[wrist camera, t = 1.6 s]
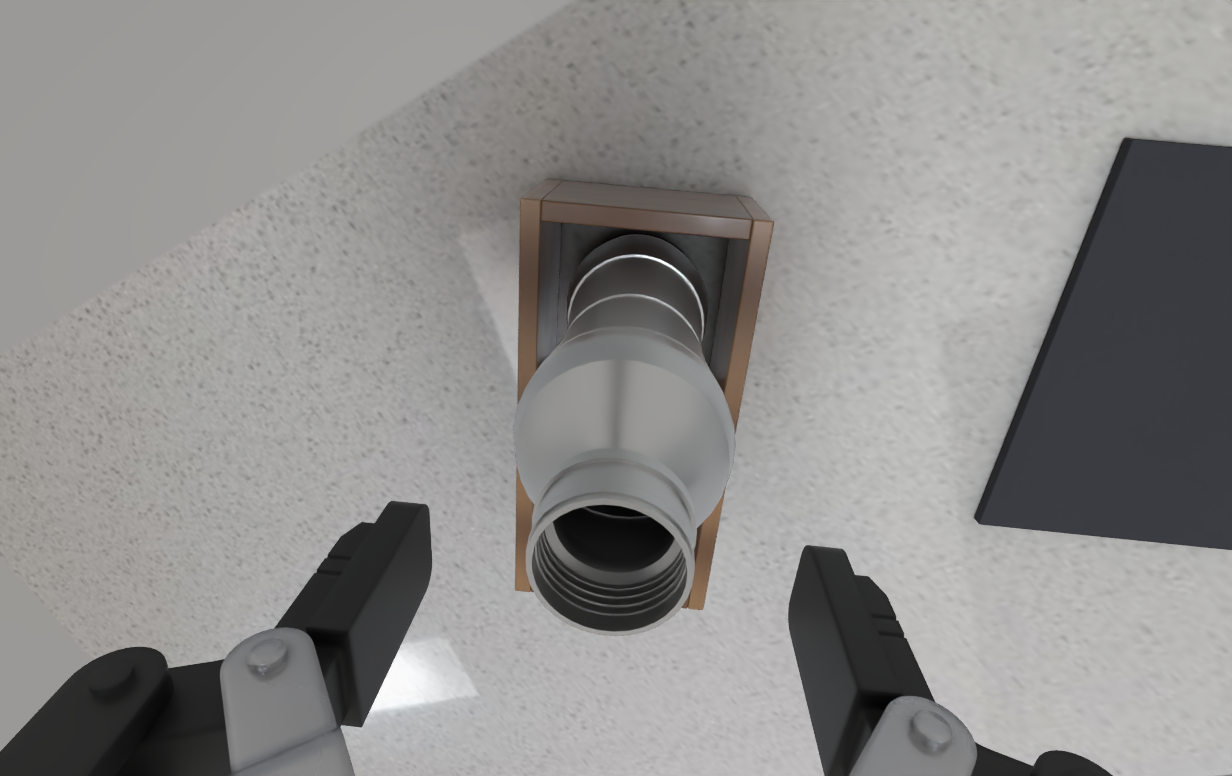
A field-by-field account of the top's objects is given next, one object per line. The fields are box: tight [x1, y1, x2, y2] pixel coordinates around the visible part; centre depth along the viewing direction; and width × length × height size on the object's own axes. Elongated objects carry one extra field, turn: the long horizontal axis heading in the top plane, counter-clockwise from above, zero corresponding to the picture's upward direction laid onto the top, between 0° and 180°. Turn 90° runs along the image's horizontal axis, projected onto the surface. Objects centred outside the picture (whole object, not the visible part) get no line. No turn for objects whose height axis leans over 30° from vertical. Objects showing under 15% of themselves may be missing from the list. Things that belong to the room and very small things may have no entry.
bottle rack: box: [515, 179, 774, 610], centre depth 30 cm, size 19×10×6 cm, turn 176°
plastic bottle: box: [513, 234, 736, 636], centre depth 22 cm, size 6×7×20 cm
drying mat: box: [975, 138, 1232, 550], centre depth 31 cm, size 20×14×1 cm
